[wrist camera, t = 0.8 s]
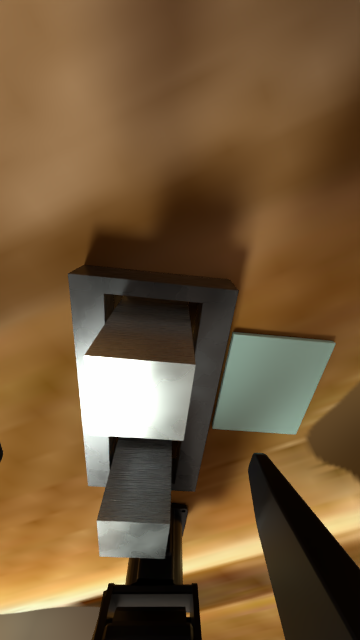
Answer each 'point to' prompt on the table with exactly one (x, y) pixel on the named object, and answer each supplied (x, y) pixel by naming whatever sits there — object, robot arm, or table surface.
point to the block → (137, 500)
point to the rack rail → (208, 341)
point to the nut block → (141, 370)
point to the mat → (269, 382)
